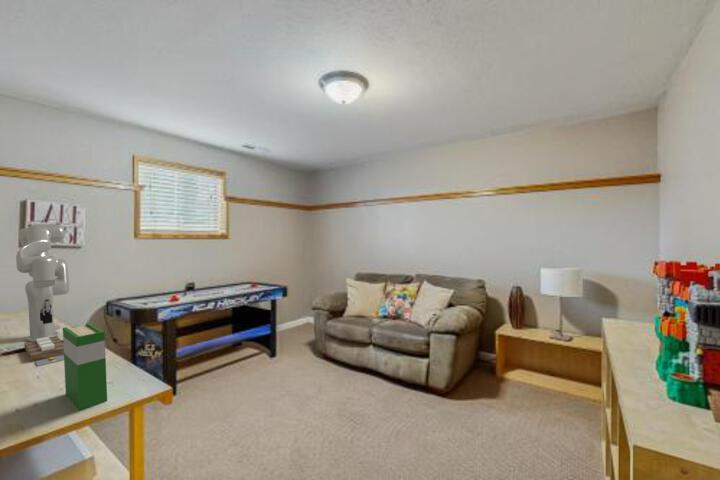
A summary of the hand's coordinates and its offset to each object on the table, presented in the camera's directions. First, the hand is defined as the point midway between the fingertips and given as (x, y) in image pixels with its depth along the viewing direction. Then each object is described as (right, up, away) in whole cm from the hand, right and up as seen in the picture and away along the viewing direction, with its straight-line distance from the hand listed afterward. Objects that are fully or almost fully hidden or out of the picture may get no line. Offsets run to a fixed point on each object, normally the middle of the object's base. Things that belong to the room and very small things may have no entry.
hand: (46, 321), depth 154 cm
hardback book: (+51, -17, -39) cm, 66 cm away
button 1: (-11, -13, +10) cm, 19 cm away
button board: (-5, -16, +5) cm, 17 cm away
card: (+9, -16, -6) cm, 19 cm away
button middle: (-5, -13, +5) cm, 15 cm away
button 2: (0, -13, +1) cm, 13 cm away
